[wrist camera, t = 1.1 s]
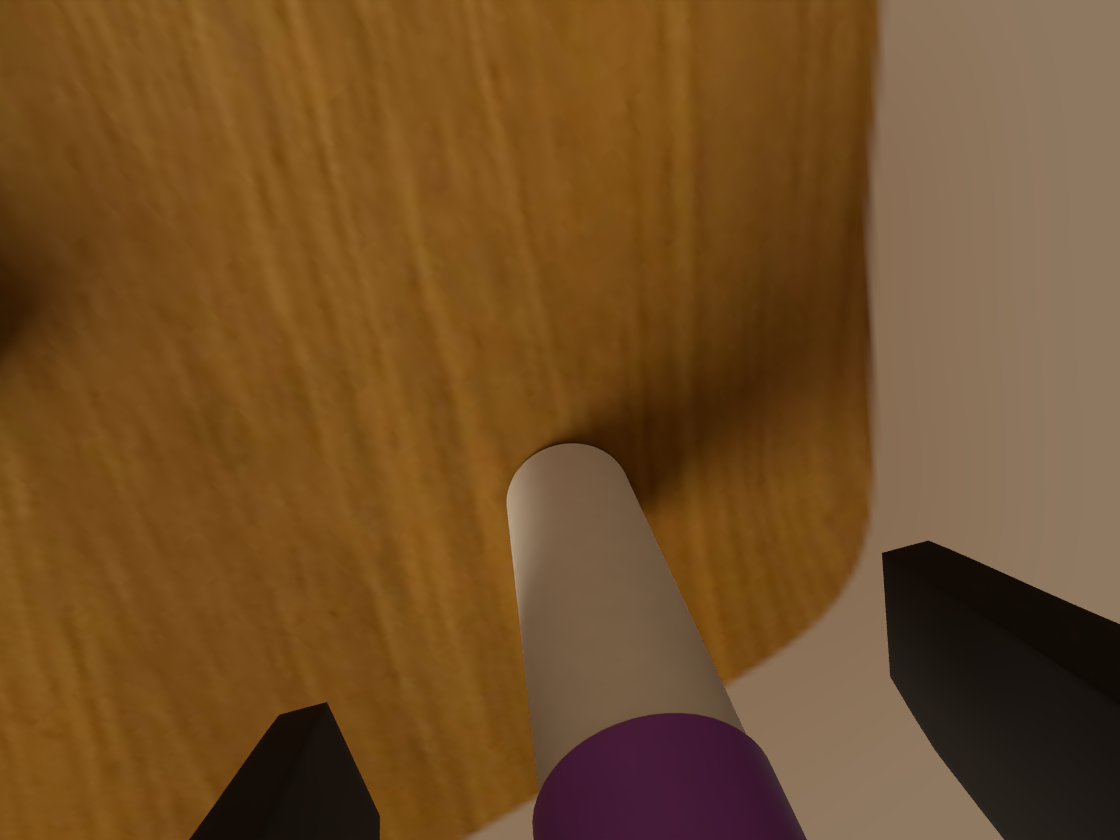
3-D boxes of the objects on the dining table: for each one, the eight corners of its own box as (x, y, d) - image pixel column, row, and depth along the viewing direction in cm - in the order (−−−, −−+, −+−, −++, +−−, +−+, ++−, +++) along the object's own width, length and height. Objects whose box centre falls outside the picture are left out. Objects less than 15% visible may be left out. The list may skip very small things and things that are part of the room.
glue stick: (645, 538, 15) (876, 1065, 6) (519, 571, 15) (591, 1148, 6) (620, 422, 14) (856, 868, 5) (485, 457, 14) (517, 964, 5)
